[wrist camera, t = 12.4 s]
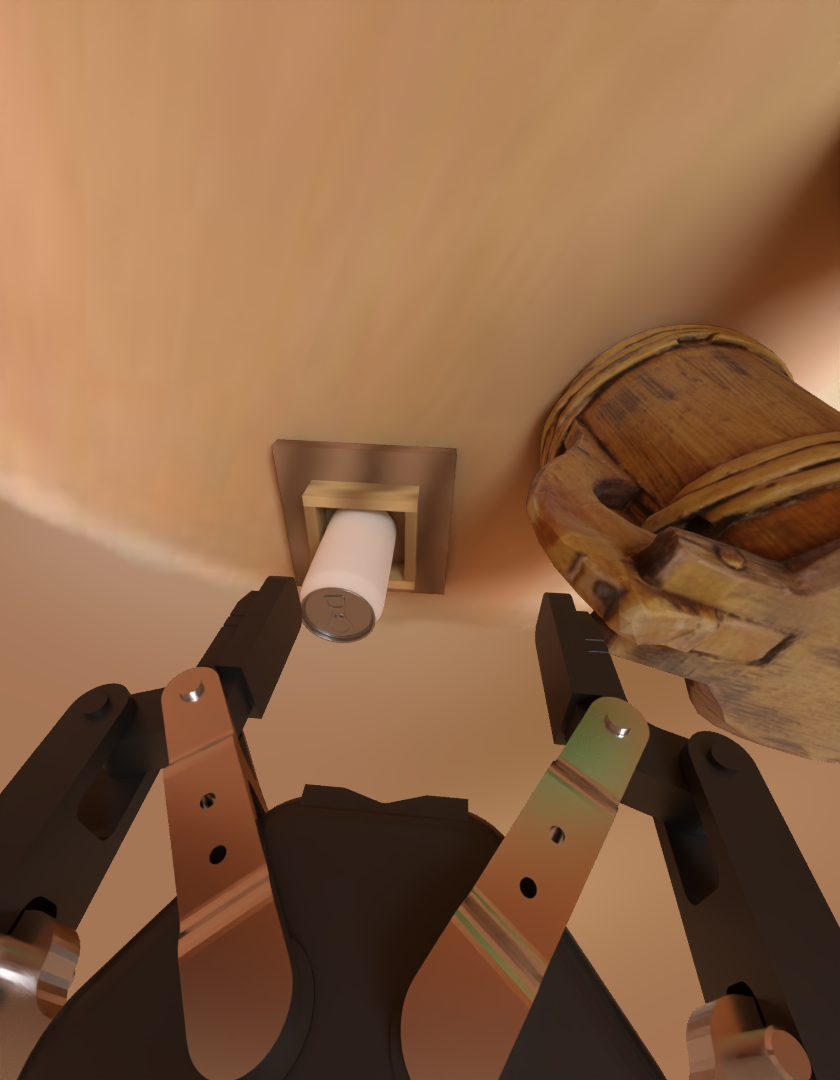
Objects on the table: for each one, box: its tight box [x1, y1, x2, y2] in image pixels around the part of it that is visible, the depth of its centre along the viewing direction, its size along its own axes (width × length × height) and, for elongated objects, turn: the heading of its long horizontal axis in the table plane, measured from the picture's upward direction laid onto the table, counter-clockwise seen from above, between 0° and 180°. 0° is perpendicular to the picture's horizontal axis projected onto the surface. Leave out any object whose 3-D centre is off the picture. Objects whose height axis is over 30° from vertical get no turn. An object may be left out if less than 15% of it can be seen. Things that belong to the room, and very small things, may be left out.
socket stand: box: [272, 439, 457, 594], centre depth 39 cm, size 16×16×4 cm
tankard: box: [526, 325, 840, 763], centre depth 25 cm, size 18×24×25 cm
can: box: [300, 508, 396, 643], centre depth 35 cm, size 6×6×12 cm
